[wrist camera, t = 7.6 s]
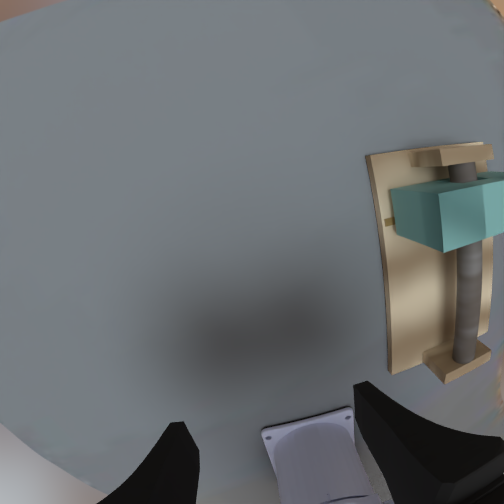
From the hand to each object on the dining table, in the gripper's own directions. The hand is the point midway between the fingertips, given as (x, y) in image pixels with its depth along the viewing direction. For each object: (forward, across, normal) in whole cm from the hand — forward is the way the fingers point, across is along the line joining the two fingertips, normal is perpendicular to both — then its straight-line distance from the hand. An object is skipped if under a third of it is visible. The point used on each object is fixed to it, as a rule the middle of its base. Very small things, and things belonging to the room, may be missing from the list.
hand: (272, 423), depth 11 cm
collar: (+9, -15, -6) cm, 18 cm away
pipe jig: (+10, -15, -1) cm, 18 cm away
